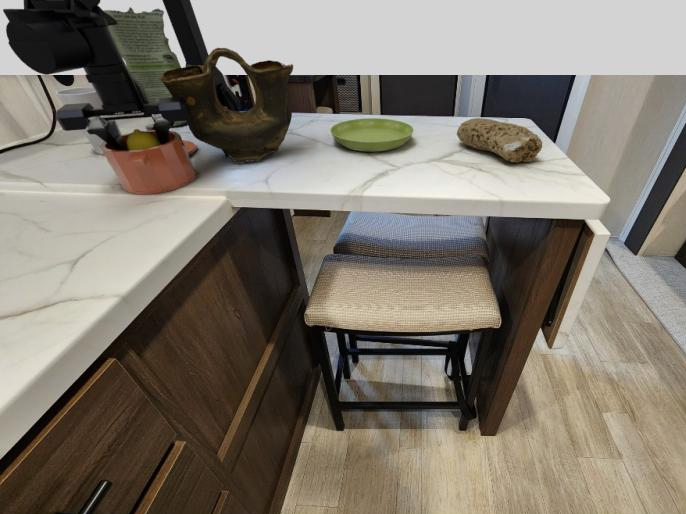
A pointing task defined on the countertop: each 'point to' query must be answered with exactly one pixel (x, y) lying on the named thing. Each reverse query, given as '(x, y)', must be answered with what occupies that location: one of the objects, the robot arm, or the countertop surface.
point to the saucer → (372, 134)
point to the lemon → (141, 140)
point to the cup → (84, 96)
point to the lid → (188, 145)
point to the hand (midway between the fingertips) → (153, 162)
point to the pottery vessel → (232, 126)
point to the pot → (151, 166)
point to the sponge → (500, 139)
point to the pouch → (145, 50)
